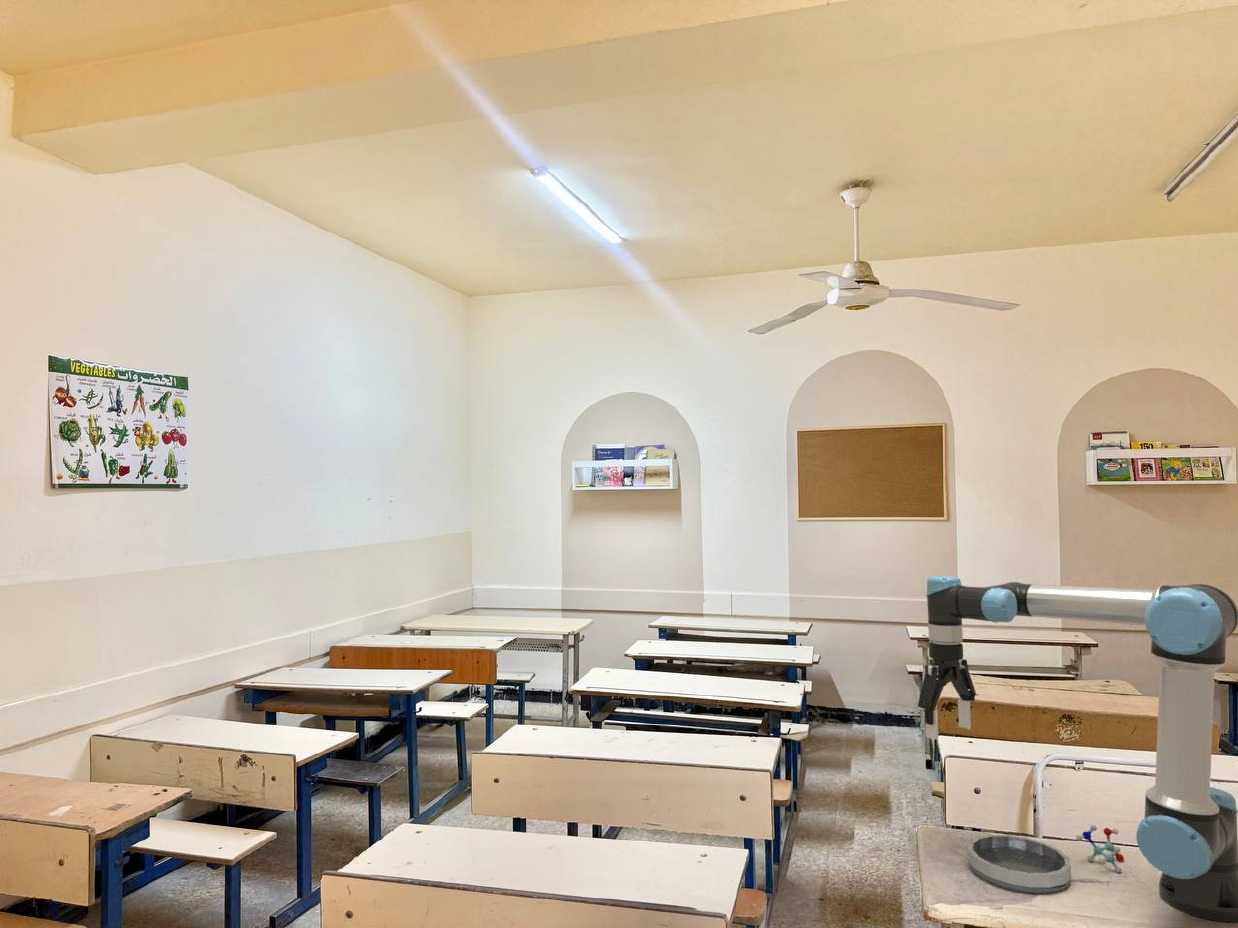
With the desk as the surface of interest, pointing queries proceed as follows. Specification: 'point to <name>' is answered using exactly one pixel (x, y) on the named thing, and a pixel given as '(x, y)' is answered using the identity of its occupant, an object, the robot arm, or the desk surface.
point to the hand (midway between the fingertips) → (948, 732)
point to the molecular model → (1103, 848)
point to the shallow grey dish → (1019, 864)
